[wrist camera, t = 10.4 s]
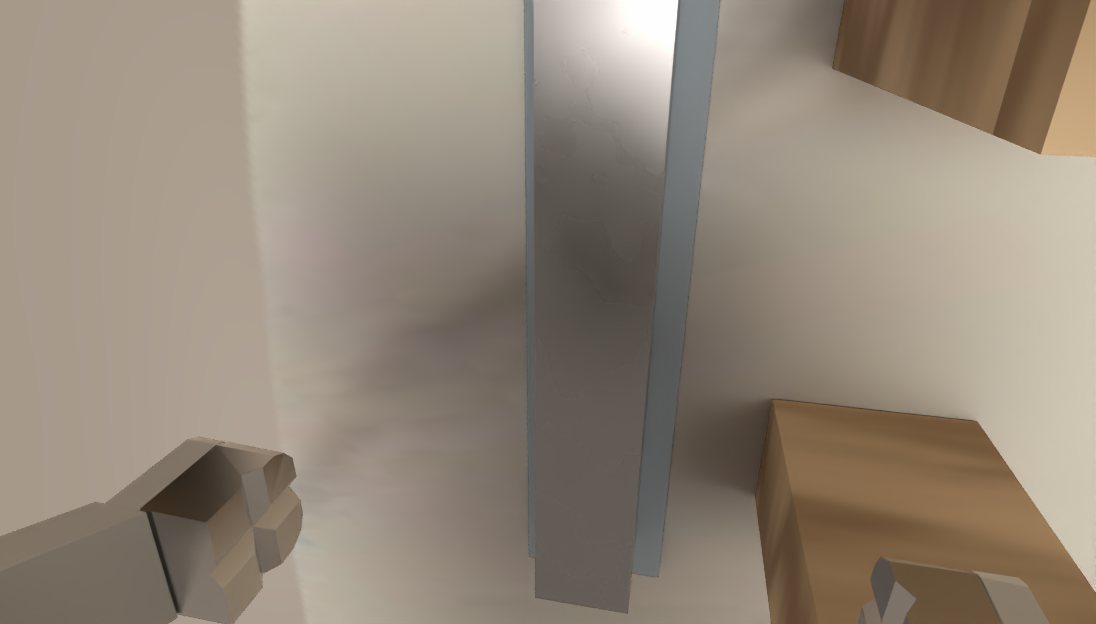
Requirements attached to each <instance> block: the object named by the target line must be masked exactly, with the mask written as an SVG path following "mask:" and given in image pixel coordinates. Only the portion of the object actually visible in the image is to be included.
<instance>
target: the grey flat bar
mask: <svg viewBox="0 0 1096 624" xmlns="http://www.w3.org/2000/svg"><path fill="white" fill-rule="evenodd" d="M719 8H720V0H681V7H680V19H679V31H678V43H677V55H676V67H675V79H674V91H673V103H672V115H671V127H670V139H669V151H668V163H667V174H666V186H665V198H664V210H663V222H662V234H661V246H660V258H659V270H658V282H657V294H656V306H655V318H654V329H653V341H652V353H651V365H650V377H649V389H648V401H647V413H646V425H645V437H644V449H643V461H642V473H641V485H640V496H639V508H638V520H637V532H636V542H635V551H634V560H633V569H632V574H638V575H644V576H651V577H657V578H658V577H659V568H660V559H661V549H662V540H663V531H664V521H665V512H666V503H667V493H668V484H669V475H670V465H671V456H672V447H673V437H674V428H675V419H676V409H677V400H678V391H679V381H680V372H681V363H682V353H683V344H684V335H685V325H686V316H687V307H688V298H689V288H690V279H691V270H692V260H693V251H694V242H695V232H696V223H697V214H698V204H699V195H700V186H701V176H702V167H703V158H704V148H705V139H706V130H707V120H708V111H709V102H710V92H711V83H712V74H713V64H714V55H715V46H716V36H717V27H718V18H719ZM524 51H525V168H526V286H527V403H528V521H529V557H533V558H535V289H534V0H524Z"/></svg>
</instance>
